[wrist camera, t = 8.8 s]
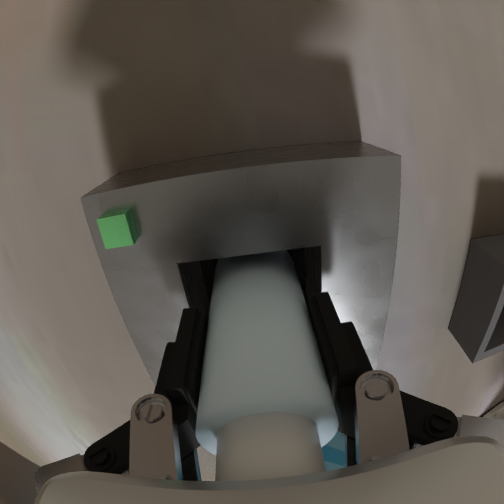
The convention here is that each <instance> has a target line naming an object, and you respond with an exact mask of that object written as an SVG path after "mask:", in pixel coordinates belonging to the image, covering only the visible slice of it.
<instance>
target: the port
mask: <svg viewBox="0 0 504 504" xmlns="http://www.w3.org/2000/svg"><path fill="white" fill-rule="evenodd" d="M400 185H401V155H398V154H395V153H393V152H390V151H387V150H385V149H382V148H379V147H376V146H373V145H370V144H368V143H365V142H341V143H323V144H309V145H297V146H286V147H276V148H266V149H257V150H249V151H241V152H234V153H227V154H220V155H213V156H207V157H200V158H194V159H189V160H183V161H177V162H172V163H167V164H161V165H156V166H151V167H147V168H142V169H137V170H133V171H128V172H124V173H119V174H117V175H115V176H113V177H112V178H110V179H109V180H107V181H105V182H104V183H102V184H101V185H99V186H98V187H96V188H95V189H93V190H92V191H90V192H88V193H87V194H85V195H84V196H83V197H81V202H82V205H83V209H84V212H85V216H86V219H87V222H88V226H89V229H90V232H91V235H92V238H93V241H94V244H95V247H96V250H97V253H98V256H99V259H100V262H101V264H102V267H103V270H104V273H105V275H106V278H107V281H108V283H109V286H110V288H111V291H112V294H113V296H114V298H115V301H116V303H117V306H118V308H119V311H120V313H121V315H122V318H123V320H124V322H125V324H126V327H127V329H128V331H129V333H130V336H131V338H132V340H133V342H134V344H135V346H136V348H137V350H138V353H139V355H140V357H141V359H142V361H143V363H144V365H145V367H146V369H147V371H148V373H149V374H150V376H151V378H152V380H153V382H154V384H155V386H156V383H157V379H158V375H159V371H160V367H161V363H162V359H163V355H164V351H165V347H166V345H167V343H168V342H175V340H176V336H177V332H178V328H179V324H180V320H181V315H182V311H183V309H184V308H194V307H198V309H199V311H202V310H203V311H204V313H205V317H206V321H207V324H208V319H209V311H210V303H209V299H208V294H207V290H206V286H205V282H204V278H203V273H202V269H201V265H200V261H201V260H209V259H217V258H225V257H233V256H241V255H249V254H258V253H266V252H274V251H282V250H290V249H298V248H304V253H305V276H306V301H305V302H306V306H307V309H308V313H309V298H312V297H313V294H314V293H321V292H328V293H329V295H330V297H331V300H332V302H333V305H334V307H335V310H336V312H337V314H338V317H339V319H340V322H341V323H344V322H350V321H351V322H352V323H353V324H354V326H355V329H356V331H357V333H358V335H359V338H360V340H361V342H362V345H363V347H364V349H365V351H366V354H367V356H368V358H369V361H370V363H371V366H372V368H373V370H376V368H377V364H378V359H379V355H380V350H381V346H382V341H383V336H384V331H385V325H386V320H387V314H388V308H389V302H390V296H391V289H392V282H393V274H394V266H395V258H396V248H397V237H398V225H399V209H400Z"/></svg>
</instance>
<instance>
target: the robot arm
mask: <svg viewBox="0 0 504 504" xmlns="http://www.w3.org/2000/svg"><path fill="white" fill-rule="evenodd" d="M309 316H310V319H311V323H312V326H313V330H314V333H315V337H316V340H317V344H318V347H319V351H320V354H321V358H322V362H323V365H324V369H325V372H326V376H327V380H328V384H329V387H330V391H331V395H332V399H333V402H334V406H335V410H336V414H337V418H338V422H339V426H338V431H340V432H342V433H344V434H345V467H344V468H339V469H334V470H329V471H324V472H318V473H312V474H305V475H298V476H290V477H282V478H272V479H260V480H244V481H202V480H201V474H200V468H199V461H198V455H197V449H196V448H198V447H199V446H200V444H199V442H198V441H197V438H196V434H195V431H196V421H197V411H198V402H199V393H200V384H201V375H202V367H203V358H204V350H205V342H206V334H207V327H208V324H207V321H206V317H205V313H204V311H203V310H202V311H199V309H198V307H194V308H184V309H183V311H182V315H181V320H180V324H179V328H178V332H177V336H176V340H175V342H168V343H167V345H166V347H165V351H164V355H163V359H162V363H161V367H160V371H159V375H158V379H157V383H156V387H155V392H154V394H148V395H145V396H143V397H141V398H139V399H138V400H137V401H136V402H135V403H134V405H133V407H132V410H131V420H129V421H128V422H126V423H125V424H123V425H122V426H120V427H118V428H117V429H115V430H114V431H112V432H111V433H109V434H108V435H106V436H105V437H103V438H101V439H100V440H98V441H97V442H95V443H93V444H92V445H91V446H90V447H88V449H87V450H86V452H85V454H84V455H82V456H81V455H80V454H76V455H74V456H71V457H68V458H65V459H62V460H60V461H57V462H54V463H51V464H48V465H44V466H42V467H40V468H39V469H38V471H37V472H36V474H35V486H36V490H37V494H38V496H37V498H36V501H35V503H34V504H504V401H503V402H501V403H500V404H499V405H497V406H496V407H494V408H493V409H492V410H490V411H489V412H488V413H487V414H485V415H484V416H483V417H475V416H467V415H462V416H461V417H456V416H455V414H454V413H453V412H452V411H450V410H448V409H447V408H444V407H441V406H439V405H436V404H433V403H431V402H428V401H425V400H423V399H420V398H418V397H415V396H412V395H410V394H407V393H405V392H402V391H400V390H399V386H398V383H397V380H396V379H395V378H394V377H393V375H391V374H389V373H388V372H385V371H382V370H373V368H372V366H371V363H370V361H369V358H368V356H367V354H366V351H365V349H364V347H363V345H362V342H361V340H360V338H359V335H358V333H357V331H356V329H355V326H354V324H353V323H352V322H351V321H350V322H344V323H341V322H340V319H339V317H338V314H337V312H336V310H335V307H334V305H333V302H332V300H331V297H330V295H329V293H328V292H321V293H314V294H313V297H312V298H309Z"/></svg>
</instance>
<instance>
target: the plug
mask: <svg viewBox="0 0 504 504" xmlns="http://www.w3.org/2000/svg"><path fill="white" fill-rule="evenodd" d="M338 426H339V422H338V418H337V414H336V410H335V406H334V402H333V399H332V395H331V391H330V387H329V384H328V380H327V376H326V372H325V369H324V365H323V362H322V358H321V354H320V351H319V347H318V344H317V340H316V337H315V333H314V330H313V326H312V323H311V319H310V316H309V313H308V309H307V306H306V302H305V299H304V296H303V292H302V289H301V286H300V282H299V279H298V276H297V273H296V269H295V266H294V263H293V260H292V258H291V256H290V255H289V253H288V252H287V251H286V250H282V251H274V252H266V253H258V254H249V255H241V256H233V257H225V258H219V259H218V261H217V264H216V269H215V276H214V283H213V290H212V297H211V304H210V311H209V319H208V327H207V334H206V342H205V350H204V358H203V367H202V375H201V384H200V393H199V402H198V411H197V421H196V431H195V434H196V438H197V441H198V442H199V444H200V445H201V446H202V447H203V448H204V449H206V450H207V451H209V452H210V453H212V454H214V455H216V478H215V481H244V480H260V479H272V478H282V477H290V476H298V475H305V474H312V473H318V472H324V471H326V469H325V464H324V459H323V454H322V448H321V447H323V446H324V445H325V444H327V443H328V442H329V441H330V440H331V439H332V438H333V437H334V436H335V434H336V432H337V430H338Z"/></svg>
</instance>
